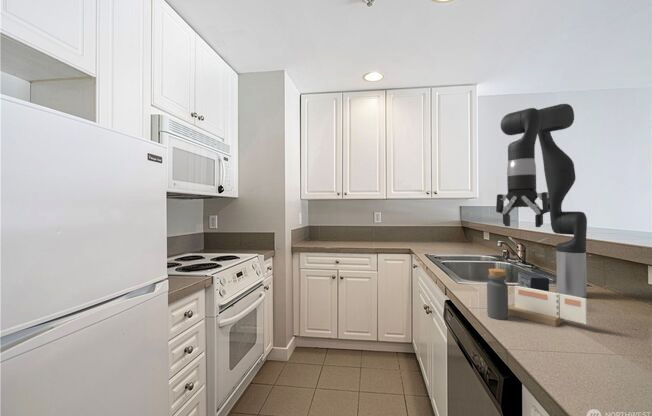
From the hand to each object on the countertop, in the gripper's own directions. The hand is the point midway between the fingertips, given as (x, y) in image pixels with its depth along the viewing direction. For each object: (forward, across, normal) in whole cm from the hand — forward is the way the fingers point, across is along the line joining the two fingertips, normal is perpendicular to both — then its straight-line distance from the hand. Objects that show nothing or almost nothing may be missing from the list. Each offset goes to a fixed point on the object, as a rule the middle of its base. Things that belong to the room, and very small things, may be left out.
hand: (522, 226), depth 93 cm
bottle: (+29, +6, +3) cm, 30 cm away
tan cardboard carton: (+29, -2, -5) cm, 30 cm away
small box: (+29, +5, -22) cm, 37 cm away
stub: (+27, -11, -5) cm, 30 cm away
